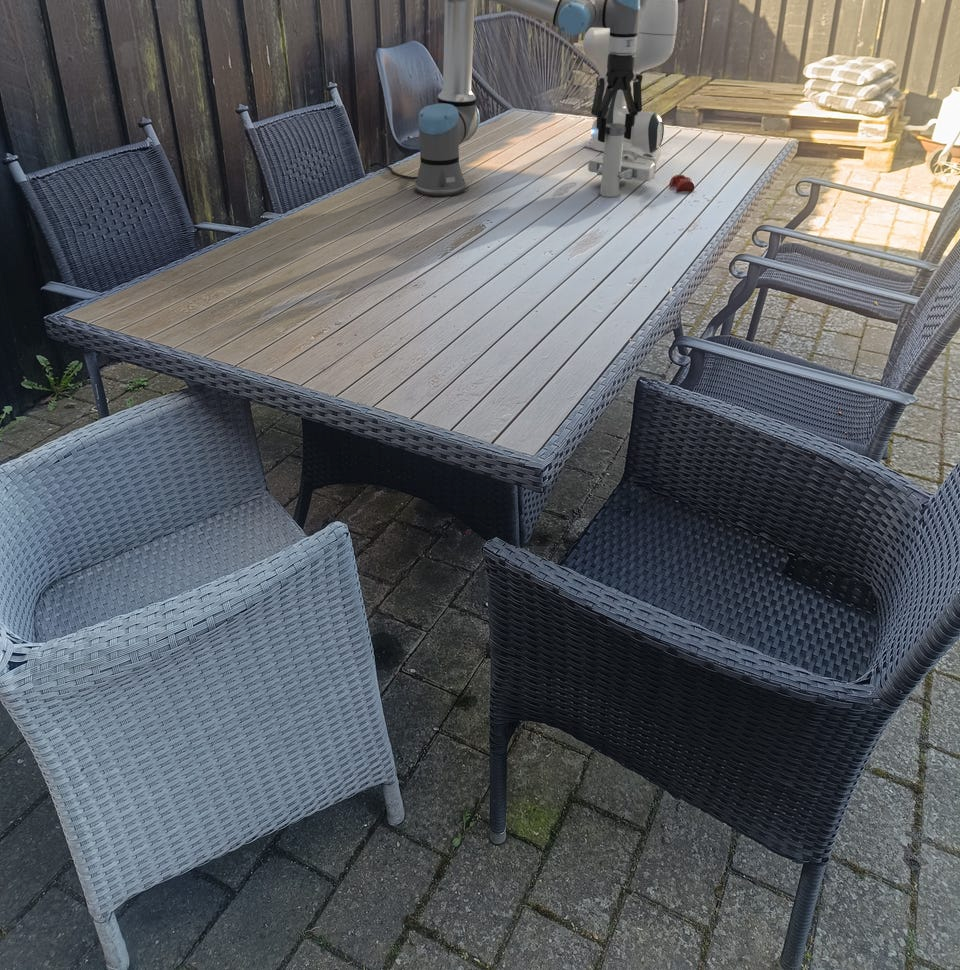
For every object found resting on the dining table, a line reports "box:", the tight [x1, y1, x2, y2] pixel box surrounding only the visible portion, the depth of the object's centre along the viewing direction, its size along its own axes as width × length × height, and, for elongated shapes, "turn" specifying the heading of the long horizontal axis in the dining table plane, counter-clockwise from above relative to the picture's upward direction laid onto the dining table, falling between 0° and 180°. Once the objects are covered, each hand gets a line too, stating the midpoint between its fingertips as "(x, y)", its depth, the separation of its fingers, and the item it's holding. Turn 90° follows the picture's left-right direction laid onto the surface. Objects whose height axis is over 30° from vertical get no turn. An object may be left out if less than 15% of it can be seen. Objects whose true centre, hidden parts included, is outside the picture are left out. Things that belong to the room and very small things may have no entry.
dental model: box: [668, 174, 695, 193], centre depth 257 cm, size 6×4×8 cm
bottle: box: [599, 133, 624, 198], centre depth 249 cm, size 6×6×19 cm
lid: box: [605, 123, 626, 135], centre depth 244 cm, size 6×6×2 cm
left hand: (614, 139), depth 246 cm, fingers open, 8 cm apart
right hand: (609, 174), depth 251 cm, fingers closed on bottle, 5 cm apart
